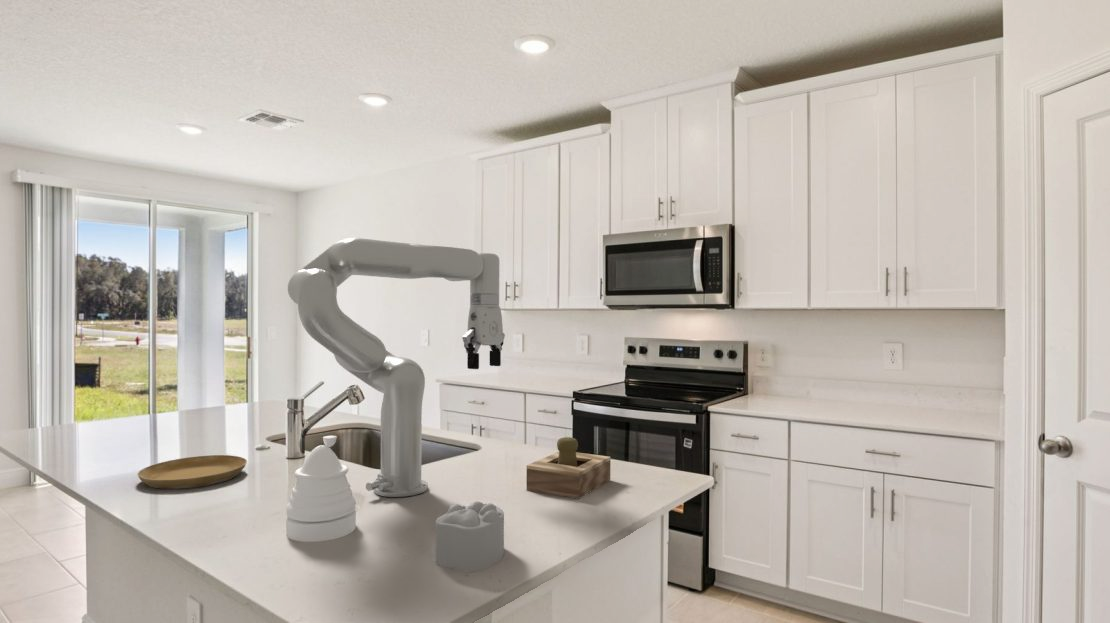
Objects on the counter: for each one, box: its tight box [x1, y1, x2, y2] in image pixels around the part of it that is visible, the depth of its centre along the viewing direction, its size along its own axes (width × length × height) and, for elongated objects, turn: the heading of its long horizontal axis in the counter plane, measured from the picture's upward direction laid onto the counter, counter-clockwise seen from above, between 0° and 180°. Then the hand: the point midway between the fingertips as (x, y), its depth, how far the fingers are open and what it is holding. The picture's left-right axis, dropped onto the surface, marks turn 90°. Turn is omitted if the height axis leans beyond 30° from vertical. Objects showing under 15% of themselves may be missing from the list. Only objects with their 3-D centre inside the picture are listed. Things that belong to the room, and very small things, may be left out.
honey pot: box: [285, 435, 357, 543], centre depth 125 cm, size 13×13×18 cm
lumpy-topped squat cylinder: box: [434, 500, 505, 573], centre depth 113 cm, size 10×13×9 cm
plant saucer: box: [137, 454, 248, 490], centre depth 162 cm, size 24×24×3 cm
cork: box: [556, 436, 579, 467], centre depth 156 cm, size 6×6×11 cm
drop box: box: [526, 451, 611, 499], centre depth 157 cm, size 18×14×6 cm
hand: (484, 367), depth 164 cm, fingers open, 9 cm apart
